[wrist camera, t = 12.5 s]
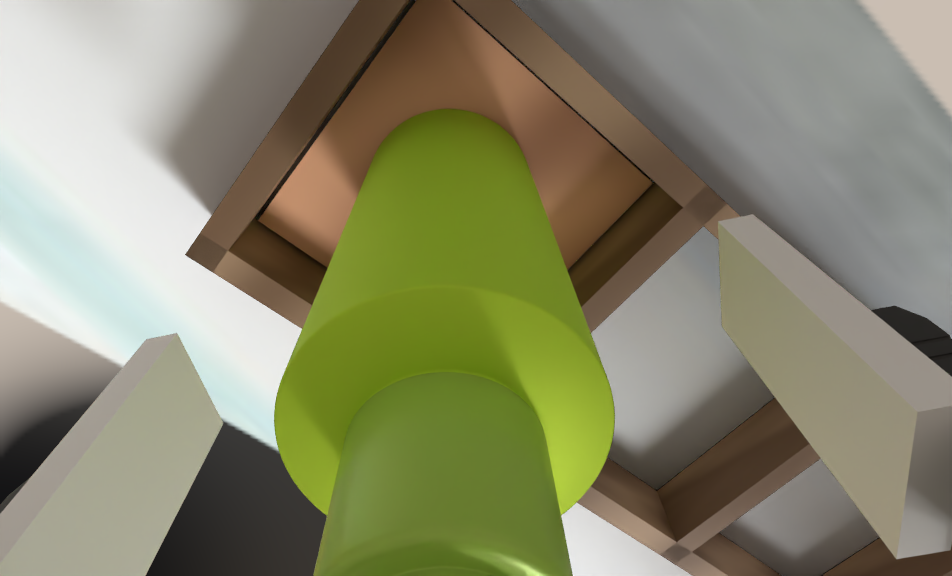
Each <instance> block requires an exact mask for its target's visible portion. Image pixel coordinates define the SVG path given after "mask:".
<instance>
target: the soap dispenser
mask: <svg viewBox="0 0 952 576" xmlns="http://www.w3.org/2000/svg"><path fill="white" fill-rule="evenodd" d="M614 424H615V411H614V402H613V396H612V392H611V388H610V384H609V381H608V379H607V376H606V373H605V370H604V368H603V365H602V362H601V360H600V357H599V354H598V352H597V349H596V346H595V344H594V341H593V338H592V335H591V333H590V330H589V327H588V325H587V322H586V319H585V317H584V314H583V311H582V309H581V306H580V303H579V301H578V298H577V295H576V292H575V290H574V287H573V284H572V282H571V279H570V276H569V274H568V271H567V268H566V266H565V263H564V260H563V257H562V255H561V252H560V249H559V247H558V244H557V241H556V239H555V236H554V233H553V231H552V228H551V225H550V223H549V220H548V217H547V214H546V212H545V209H544V206H543V204H542V201H541V198H540V196H539V193H538V190H537V188H536V185H535V182H534V179H533V177H532V174H531V171H530V169H529V166H528V163H527V161H526V158H525V156H524V154H523V152H522V150H521V149H520V147H519V145H518V144H517V143H516V141H515V140H514V139H513V138H512V136H511V135H510V134H509V133H508V132H507V131H506V130H505V129H503V128H502V127H501V126H500V125H498V124H497V123H495V122H494V121H492V120H490V119H489V118H486V117H484V116H482V115H480V114H477V113H474V112H470V111H466V110H460V109H438V110H432V111H427V112H424V113H421V114H418V115H416V116H414V117H411V118H409V119H408V120H406V121H404V122H403V123H401V124H400V125H399V126H397V127H396V128H395V129H394V130H393V131H391V132H390V133H389V135H388V136H387V137H386V138H385V139H384V140H383V142H382V143H381V145H380V146H379V148H378V149H377V151H376V153H375V155H374V157H373V160H372V162H371V165H370V167H369V169H368V172H367V174H366V177H365V179H364V182H363V184H362V186H361V189H360V191H359V194H358V196H357V198H356V201H355V203H354V206H353V208H352V210H351V213H350V215H349V218H348V220H347V223H346V225H345V227H344V230H343V232H342V235H341V237H340V239H339V242H338V244H337V247H336V249H335V252H334V254H333V256H332V259H331V261H330V264H329V266H328V268H327V271H326V273H325V276H324V278H323V280H322V283H321V285H320V288H319V290H318V293H317V295H316V297H315V300H314V302H313V305H312V307H311V309H310V312H309V314H308V317H307V319H306V322H305V324H304V326H303V329H302V331H301V334H300V336H299V338H298V341H297V343H296V346H295V348H294V350H293V353H292V355H291V358H290V360H289V363H288V365H287V367H286V370H285V372H284V375H283V377H282V380H281V383H280V385H279V389H278V393H277V397H276V403H275V412H274V426H275V435H276V441H277V445H278V449H279V452H280V455H281V457H282V460H283V462H284V465H285V467H286V469H287V471H288V472H289V474H290V476H291V478H292V479H293V481H294V482H295V484H296V485H297V486H298V488H299V489H300V490H301V491H302V493H303V494H304V495H305V496H306V497H307V498H308V499H309V500H310V501H311V502H312V503H313V504H314V505H315V506H316V507H317V508H318V509H319V510H321V511H322V512H323V513H324V514H326V515H327V519H326V523H325V527H324V532H323V536H322V541H321V545H320V550H319V554H318V558H317V562H316V567H315V571H314V575H313V576H573V574H572V569H571V564H570V559H569V554H568V549H567V544H566V539H565V533H564V528H563V523H562V518H561V515H562V514H564V513H565V512H566V511H567V510H569V509H570V508H571V507H572V506H573V505H574V504H575V503H576V502H577V501H578V500H579V499H580V498H581V497H582V496H583V495H584V494H585V493H586V492H587V490H588V489H589V488H590V487H591V485H592V484H593V482H594V481H595V480H596V478H597V476H598V475H599V473H600V471H601V469H602V468H603V465H604V463H605V461H606V459H607V456H608V454H609V451H610V447H611V444H612V439H613V433H614Z"/></svg>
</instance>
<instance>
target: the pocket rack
mask: <svg viewBox="0 0 952 576" xmlns="http://www.w3.org/2000/svg"><path fill="white" fill-rule="evenodd" d="M455 1H456V2H457V3H458V4H459V5H460V6H461V7H462V8H464V9H465V10H466V11H467V12H468V13H469V14H470V15H471V16H472V17H473V18H475V19H476V20H477V21H478V22H479V23H480V24H481V25H482V26H483V27H484V28H486V29H487V30H488V31H489V32H490V33H491V34H492V35H493V36H494V37H495V38H497V39H498V40H499V41H500V42H501V43H502V44H503V45H504V46H505V47H506V48H508V49H509V50H510V51H511V52H512V53H513V54H514V55H515V56H516V57H518V58H519V59H520V60H521V61H522V62H523V63H524V64H525V65H526V66H527V67H529V68H530V69H531V70H532V71H533V72H534V73H535V74H536V75H537V76H538V77H540V78H541V79H542V80H543V81H544V82H545V83H546V84H547V85H548V86H549V87H551V88H552V89H553V90H554V91H555V92H556V93H557V94H558V95H559V96H561V97H562V98H563V99H564V100H565V101H566V102H567V103H568V104H569V105H570V106H572V107H573V108H574V109H575V110H576V111H577V112H578V113H579V114H580V115H581V116H583V117H584V118H585V119H586V120H587V121H588V122H589V123H590V124H591V125H592V126H594V127H595V128H596V129H597V130H598V131H599V132H600V133H601V134H602V135H604V136H605V137H606V138H607V139H608V140H609V141H610V142H611V143H612V144H613V145H615V146H616V147H617V148H618V149H619V150H620V151H621V152H622V153H623V154H624V155H626V156H627V157H628V158H629V159H630V160H631V161H632V162H633V163H634V164H635V165H637V166H638V167H639V168H640V169H641V170H642V171H643V172H644V173H645V174H647V175H648V176H649V177H650V178H651V179H652V180H653V181H654V183H653V182H652V181H651V180H650V179H648V178H647V177H646V176H645V175H644V174H643V173H642V172H641V171H640V170H639V169H637V168H636V167H635V166H634V165H633V164H632V163H631V162H630V161H629V160H627V159H626V158H625V157H624V156H623V155H622V154H621V153H620V152H619V151H618V150H616V149H615V148H614V147H613V146H612V145H611V144H610V143H609V142H608V141H606V140H605V139H604V138H603V137H602V136H601V135H600V134H599V133H598V132H597V131H595V130H594V129H593V128H592V127H591V126H590V125H589V124H588V123H587V122H585V121H584V120H583V119H582V118H581V117H580V116H579V115H578V114H577V113H576V112H574V111H573V110H572V109H571V108H570V107H569V106H568V105H567V104H566V103H565V102H563V101H562V100H561V99H560V98H559V97H558V96H557V95H556V94H555V93H553V92H552V91H551V90H550V89H549V88H548V87H547V86H546V85H545V84H544V83H542V82H541V81H540V80H539V79H538V78H537V77H536V76H535V75H534V74H532V73H531V72H530V71H529V70H528V69H527V68H526V67H525V66H524V65H523V64H521V63H520V62H519V61H518V60H517V59H516V58H515V57H514V56H513V55H511V54H510V53H509V52H508V51H507V50H506V49H505V48H504V47H503V46H502V45H500V44H499V43H498V42H497V41H496V40H495V39H494V38H493V37H492V36H491V35H489V34H488V33H487V32H486V31H485V30H484V29H483V28H482V27H481V26H479V25H478V24H477V23H476V22H475V21H474V20H473V19H472V18H471V17H470V16H468V15H467V14H466V13H465V12H464V11H463V10H462V9H461V8H460V7H458V6H457V5H456V4H455V3H454V2H453V1H452V0H416V1H415V3H414V4H413V6H412V7H411V8H410V10H409V11H408V13H407V14H406V15H405V17H404V18H403V20H402V21H401V22H400V24H399V25H398V27H397V28H396V29H395V31H394V32H393V33H392V35H391V36H390V38H389V39H388V40H387V42H386V43H385V45H384V46H383V47H382V49H381V50H380V52H379V53H378V54H377V56H376V57H375V58H374V60H373V61H372V63H371V64H370V65H369V67H368V68H367V70H366V71H365V72H364V74H363V75H362V77H361V78H360V79H359V81H358V82H357V83H356V85H355V86H354V88H353V89H352V90H351V92H350V93H349V95H348V96H347V97H346V99H345V100H344V102H343V103H342V104H341V106H340V107H339V108H338V110H337V111H336V113H335V114H334V115H333V117H332V118H331V120H330V121H329V122H328V124H327V125H326V127H325V128H324V129H323V131H322V132H321V133H320V135H319V136H318V138H317V139H316V140H315V142H314V143H313V145H312V146H311V147H310V149H309V150H308V152H307V153H306V154H305V156H304V157H303V158H302V160H301V161H300V163H299V164H298V165H297V167H296V168H295V170H294V171H293V172H292V174H291V175H290V177H289V178H288V179H287V181H286V182H285V183H284V185H283V186H282V188H281V189H280V190H279V192H278V193H277V195H276V196H275V197H274V199H273V200H272V202H271V203H270V204H269V206H268V207H267V209H266V210H265V211H264V213H263V214H262V215H261V217H260V218H259V220H256V219H255V217H256V215H257V214H258V213H259V211H260V210H261V208H262V207H263V206H264V204H265V203H266V201H267V200H268V199H269V197H270V196H271V194H272V193H273V192H274V190H275V189H276V187H277V186H278V185H279V183H280V182H281V180H282V179H283V178H284V176H285V175H286V173H287V172H288V171H289V169H290V168H291V166H292V165H293V164H294V162H295V161H296V159H297V158H298V157H299V155H300V154H301V152H302V151H303V150H304V148H305V147H306V145H307V144H308V143H309V141H310V140H311V138H312V137H313V136H314V134H315V133H316V132H317V130H318V129H319V127H320V126H321V125H322V123H323V122H324V120H325V119H326V118H327V116H328V115H329V113H330V112H331V111H332V109H333V108H334V106H335V105H336V104H337V102H338V101H339V99H340V98H341V97H342V95H343V94H344V92H345V91H346V90H347V88H348V87H349V85H350V84H351V83H352V81H353V80H354V78H355V77H356V76H357V74H358V73H359V71H360V70H361V69H362V67H363V66H364V64H365V63H366V62H367V60H368V59H369V57H370V56H371V55H372V53H373V52H374V51H375V49H376V48H377V46H378V45H379V44H380V42H381V41H382V39H383V38H384V37H385V35H386V34H387V32H388V31H389V30H390V28H391V27H392V25H393V24H394V23H395V21H396V20H397V18H398V17H399V16H400V14H401V13H402V11H403V10H404V9H405V7H406V6H407V4H408V3H409V2H410V0H359V1H358V3H357V4H356V6H355V7H354V8H353V10H352V11H351V13H350V14H349V16H348V17H347V19H346V20H345V22H344V23H343V25H342V26H341V27H340V29H339V30H338V32H337V33H336V35H335V36H334V38H333V39H332V41H331V42H330V44H329V45H328V46H327V48H326V49H325V51H324V52H323V54H322V55H321V57H320V58H319V60H318V61H317V63H316V64H315V66H314V67H313V68H312V70H311V71H310V73H309V74H308V76H307V77H306V79H305V80H304V82H303V83H302V85H301V86H300V87H299V89H298V90H297V92H296V93H295V95H294V96H293V98H292V99H291V101H290V102H289V104H288V105H287V106H286V108H285V109H284V111H283V112H282V114H281V115H280V117H279V118H278V120H277V121H276V123H275V124H274V126H273V127H272V128H271V130H270V131H269V133H268V134H267V136H266V137H265V139H264V140H263V142H262V143H261V145H260V146H259V147H258V149H257V150H256V152H255V153H254V155H253V156H252V158H251V159H250V161H249V162H248V164H247V165H246V166H245V168H244V169H243V171H242V172H241V174H240V175H239V177H238V178H237V180H236V181H235V183H234V184H233V185H232V187H231V188H230V190H229V191H228V193H227V194H226V196H225V197H224V199H223V200H222V202H221V203H220V205H219V206H218V207H217V209H216V210H215V212H214V213H213V215H212V216H211V218H210V219H209V221H208V222H207V224H206V225H205V226H204V228H203V229H202V231H201V232H200V234H199V235H198V237H197V238H196V240H195V241H194V243H193V244H192V245H191V247H190V248H189V250H188V251H187V253H186V254H185V255H186V256H188V257H189V258H191V259H192V260H194V261H196V262H197V263H199V264H200V265H202V266H203V267H205V268H207V269H208V270H210V271H211V272H213V273H215V274H216V275H218V276H219V277H221V278H222V279H224V280H226V281H227V282H229V283H230V284H232V285H234V286H235V287H237V288H238V289H240V290H241V291H243V292H245V293H246V294H248V295H249V296H251V297H253V298H254V299H256V300H257V301H259V302H260V303H262V304H264V305H265V306H267V307H268V308H270V309H272V310H273V311H275V312H276V313H278V314H279V315H281V316H283V317H284V318H286V319H287V320H289V321H291V322H292V323H294V324H295V325H297V326H298V327H300V328H302V329H303V326H304V324H305V322H306V319H307V317H308V314H309V312H310V309H311V307H312V305H313V302H314V300H315V297H316V295H317V293H318V290H319V288H320V285H321V283H322V280H323V278H324V276H325V273H326V271H327V268H328V266H329V264H330V261H331V259H332V256H333V254H334V252H335V249H336V247H337V244H338V242H339V239H340V237H341V235H342V232H343V230H344V227H345V225H346V223H347V220H348V218H349V215H350V213H351V210H352V208H353V206H354V203H355V201H356V198H357V196H358V194H359V191H360V189H361V186H362V184H363V182H364V179H365V177H366V174H367V172H368V169H369V167H370V165H371V162H372V160H373V157H374V155H375V153H376V151H377V149H378V148H379V146H380V145H381V143H382V142H383V140H384V139H385V138H386V137H387V136H388V135H389V133H390V132H391V131H393V130H394V129H395V128H396V127H397V126H399V125H400V124H401V123H403V122H404V121H406V120H408V119H409V118H411V117H414V116H416V115H418V114H421V113H424V112H427V111H432V110H438V109H460V110H466V111H470V112H474V113H477V114H480V115H482V116H484V117H486V118H489V119H490V120H492V121H494V122H495V123H497V124H498V125H500V126H501V127H502V128H503V129H505V130H506V131H507V132H508V133H509V134H510V135H511V136H512V138H513V139H514V140H515V141H516V143H517V144H518V145H519V147H520V149H521V150H522V152H523V154H524V156H525V158H526V161H527V163H528V166H529V169H530V171H531V174H532V177H533V179H534V182H535V185H536V188H537V190H538V193H539V196H540V198H541V201H542V204H543V206H544V209H545V212H546V214H547V217H548V220H549V223H550V225H551V228H552V231H553V233H554V236H555V239H556V241H557V244H558V247H559V249H560V252H561V255H562V257H563V260H564V263H565V266H566V268H567V271H568V274H569V276H570V279H571V282H572V284H573V287H574V290H575V292H576V295H577V298H578V301H579V303H580V306H581V309H582V311H583V314H584V317H585V319H586V322H587V325H588V327H589V330H590V333H591V332H592V331H593V330H595V329H596V328H597V327H598V326H599V325H600V324H601V323H602V322H603V321H604V320H605V319H606V318H607V317H608V316H609V315H610V314H611V313H612V312H613V311H615V310H616V309H617V308H618V307H619V306H620V305H621V304H622V303H623V302H624V301H625V300H626V299H627V298H628V297H629V296H630V295H631V294H632V293H633V292H635V291H636V290H637V289H638V288H639V287H640V286H641V285H642V284H643V283H644V282H645V281H646V280H647V279H648V278H649V277H650V276H651V275H652V274H653V273H655V272H656V271H657V270H658V269H659V268H660V267H661V266H662V265H663V264H664V263H665V262H666V261H667V260H668V259H669V258H670V257H671V256H672V255H673V254H675V253H676V252H677V251H678V250H679V249H680V248H681V247H682V246H683V245H684V244H685V243H686V242H687V241H688V240H689V239H690V238H691V237H692V236H693V235H695V234H696V233H697V232H698V231H699V230H700V229H701V228H702V227H703V226H704V227H705V228H706V229H707V230H708V231H709V232H710V233H712V234H713V235H714V236H715V237H716V238H717V239H718V240H719V236H718V221H722V220H727V219H732V218H737V217H741V216H740V215H739V214H738V213H736V212H735V211H734V210H733V209H732V208H731V207H730V206H729V205H728V204H727V203H726V202H725V201H724V200H723V199H722V198H721V197H719V196H718V195H717V194H716V193H715V192H714V191H713V190H712V189H711V188H710V187H709V186H708V185H707V184H706V183H705V182H704V181H702V180H701V179H700V178H699V177H698V176H697V175H696V174H695V173H694V172H693V171H692V170H691V169H690V168H689V167H688V166H687V165H685V164H684V163H683V162H682V161H681V160H680V159H679V158H678V157H677V156H676V155H675V154H674V153H673V152H672V151H671V150H670V149H669V148H667V147H666V146H665V145H664V144H663V143H662V142H661V141H660V140H659V139H658V138H657V137H656V136H655V135H654V134H653V133H652V132H650V131H649V130H648V129H647V128H646V127H645V126H644V125H643V124H642V123H641V122H640V121H639V120H638V119H637V118H636V117H635V116H633V115H632V114H631V113H630V112H629V111H628V110H627V109H626V108H625V107H624V106H623V105H622V104H621V103H620V102H619V101H618V100H616V99H615V98H614V97H613V96H612V95H611V94H610V93H609V92H608V91H607V90H606V89H605V88H604V87H603V86H602V85H601V84H599V83H598V82H597V81H596V80H595V79H594V78H593V77H592V76H591V75H590V74H589V73H588V72H587V71H586V70H585V69H584V68H582V67H581V66H580V65H579V64H578V63H577V62H576V61H575V60H574V59H573V58H572V57H571V56H570V55H569V54H568V53H567V52H566V51H564V50H563V49H562V48H561V47H560V46H559V45H558V44H557V43H556V42H555V41H554V40H553V39H552V38H551V37H550V36H549V35H547V34H546V33H545V32H544V31H543V30H542V29H541V28H540V27H539V26H538V25H537V24H536V23H535V22H534V21H533V20H532V19H530V18H529V17H528V16H527V15H526V14H525V13H524V12H523V11H522V10H521V9H520V8H519V7H518V6H517V5H516V4H515V3H513V2H512V1H511V0H455ZM652 183H653V184H652ZM651 184H652V185H651ZM650 185H651V186H650ZM649 186H650V187H649ZM648 187H649V188H648ZM647 188H648V189H647ZM646 189H647V190H646ZM645 190H646V191H645ZM644 191H645V192H644ZM643 192H644V193H643ZM642 193H643V194H642ZM608 228H609V229H608ZM607 229H608V230H607ZM606 230H607V231H606ZM605 231H606V232H605ZM604 232H605V233H604ZM603 233H604V234H603ZM602 234H603V235H602ZM601 235H602V236H601ZM600 236H601V237H600ZM599 237H600V238H599ZM598 238H599V239H598ZM597 239H598V240H597ZM596 240H597V241H596ZM595 241H596V242H595ZM594 242H595V243H594ZM593 243H594V244H593ZM592 244H593V245H592ZM591 245H592V246H591ZM590 246H591V247H590ZM589 247H590V248H589ZM588 248H589V249H588ZM587 249H588V250H587ZM586 250H587V251H586ZM585 251H586V252H585ZM584 252H585V253H584ZM583 253H584V254H583ZM582 254H583V255H582ZM581 255H582V256H581ZM819 459H821V458H820V457H819V455H818V454H817V453H816V451H815V450H814V449H813V447H812V446H811V445H810V443H809V442H808V441H807V439H806V438H805V437H804V435H803V434H802V433H801V431H800V430H799V429H798V427H797V426H796V425H795V423H794V422H793V421H792V419H791V418H790V417H789V415H788V414H787V413H786V411H785V410H784V409H783V407H782V406H781V405H780V403H779V402H778V401H777V399H776V398H774V399H773V400H772V401H770V402H769V403H768V404H767V405H765V406H764V407H763V408H761V409H760V410H759V411H758V412H756V413H755V414H754V415H753V416H751V417H750V418H749V419H748V420H746V421H745V422H744V423H742V424H741V425H740V426H739V427H737V428H736V429H735V430H734V431H732V432H731V433H730V434H729V435H727V436H726V437H725V438H723V439H722V440H721V441H720V442H718V443H717V444H716V445H715V446H713V447H712V448H711V449H710V450H708V451H707V452H706V453H704V454H703V455H702V456H701V457H699V458H698V459H697V460H696V461H694V462H693V463H692V464H691V465H689V466H688V467H687V468H685V469H684V470H683V471H682V472H680V473H679V474H678V475H677V476H675V477H674V478H673V479H672V480H670V481H669V482H668V483H666V484H665V485H664V486H663V487H661V488H660V489H659V490H658V491H656V490H655V489H653V488H652V487H650V486H649V485H647V484H646V483H644V482H643V481H641V480H640V479H638V478H637V477H636V476H634V475H633V474H631V473H630V472H628V471H627V470H625V469H624V468H622V467H621V466H619V465H618V464H616V463H615V462H613V461H612V460H610V459H609V458H607V459H606V461H605V463H604V465H603V468H602V469H601V471H600V473H599V475H598V476H597V478H596V480H595V481H594V482H593V484H592V485H591V487H590V488H589V489H588V490H587V492H586V493H585V494H584V495H583V496H582V497H581V498H580V499H579V500H578V501H577V503H579V504H580V505H582V506H583V507H585V508H587V509H588V510H590V511H591V512H593V513H594V514H596V515H598V516H599V517H601V518H602V519H604V520H606V521H607V522H609V523H610V524H612V525H613V526H615V527H617V528H618V529H620V530H621V531H623V532H625V533H626V534H628V535H629V536H631V537H632V538H634V539H636V540H637V541H639V542H640V543H642V544H644V545H645V546H647V547H648V548H650V549H651V550H653V551H655V552H656V553H658V554H659V555H661V556H663V557H664V558H666V559H667V560H669V561H670V562H672V563H674V564H675V565H677V566H678V567H680V568H682V569H683V570H685V571H686V572H688V573H689V574H691V575H693V576H782V575H780V574H779V573H777V572H776V571H774V570H773V569H771V568H770V567H768V566H767V565H765V564H764V563H762V562H761V561H759V560H758V559H756V558H755V557H754V556H752V555H751V554H749V553H748V552H746V551H745V550H743V549H742V548H740V547H739V546H737V545H736V544H734V543H733V542H731V541H730V540H728V539H727V538H725V537H724V536H723V535H721V534H720V533H719V532H720V531H721V530H723V529H724V528H726V527H727V526H728V525H730V524H731V523H732V522H734V521H735V520H737V519H738V518H739V517H741V516H742V515H744V514H745V513H746V512H748V511H749V510H750V509H752V508H753V507H755V506H756V505H757V504H759V503H760V502H761V501H763V500H764V499H766V498H767V497H768V496H770V495H771V494H772V493H774V492H775V491H777V490H778V489H779V488H781V487H782V486H783V485H785V484H786V483H788V482H789V481H790V480H792V479H793V478H794V477H796V476H797V475H799V474H800V473H801V472H803V471H804V470H805V469H807V468H808V467H810V466H811V465H812V464H814V463H815V462H816V461H818V460H819ZM822 576H952V546H951V550H949V551H943V552H937V553H931V554H925V555H919V556H913V557H907V558H901V559H896V558H895V557H894V555H893V554H892V553H891V551H890V550H889V549H888V547H887V546H886V545H885V543H884V542H883V541H882V539H881V538H879V539H877V540H876V541H874V542H873V543H871V544H870V545H868V546H867V547H865V548H863V549H862V550H860V551H859V552H857V553H856V554H854V555H853V556H851V557H850V558H848V559H846V560H845V561H843V562H842V563H840V564H839V565H837V566H836V567H834V568H833V569H831V570H830V571H828V572H826V573H825V574H823V575H822Z"/></svg>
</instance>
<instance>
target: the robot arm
mask: <svg viewBox="0 0 952 576" xmlns="http://www.w3.org/2000/svg"><path fill="white" fill-rule="evenodd" d="M718 236H719V263H720V290H721V318H722V327H723V329H724V330H725V331H726V333H727V334H728V335H729V337H730V338H731V339H732V341H733V342H734V343H735V345H736V346H737V347H738V349H739V350H740V351H741V353H742V354H743V355H744V357H745V358H746V359H747V361H748V362H749V363H750V365H751V366H752V367H753V369H754V370H755V371H756V373H757V374H758V375H759V377H760V378H761V379H762V381H763V382H764V383H765V385H766V386H767V387H768V389H769V390H770V391H771V393H772V394H773V395H774V397H775V398H776V399H777V401H778V402H779V403H780V405H781V406H782V407H783V409H784V410H785V411H786V413H787V414H788V415H789V417H790V418H791V419H792V421H793V422H794V423H795V425H796V426H797V427H798V429H799V430H800V431H801V433H802V434H803V435H804V437H805V438H806V439H807V441H808V442H809V443H810V445H811V446H812V447H813V449H814V450H815V451H816V453H817V454H818V455H819V457H820V458H821V459H822V461H823V462H824V463H825V465H826V466H827V467H828V469H829V470H830V471H831V473H832V474H833V475H834V477H835V478H836V479H837V481H838V482H839V483H840V485H841V486H842V487H843V489H844V490H845V491H846V493H847V494H848V495H849V497H850V498H851V499H852V501H853V502H854V503H855V505H856V506H857V507H858V509H859V510H860V511H861V513H862V514H863V515H864V517H865V518H866V519H867V521H868V522H869V523H870V525H871V526H872V527H873V529H874V530H875V531H876V533H877V534H878V535H879V537H880V538H881V539H882V541H883V542H884V543H885V545H886V546H887V547H888V549H889V550H890V551H891V553H892V554H893V555H894V557H895V558H896V559H901V558H907V557H913V556H919V555H925V554H931V553H937V552H943V551H949V550H951V546H952V339H951V338H950V335H949V334H947V333H946V332H945V331H943V330H942V329H941V328H939V327H938V326H937V325H935V324H934V323H932V322H931V321H930V320H928V319H927V318H925V317H922V316H920V315H917V314H915V313H912V312H909V311H907V310H904V309H902V308H899V307H896V306H891V307H886V308H880V309H875V310H870V309H868V308H867V307H866V306H865V305H863V304H862V303H861V302H860V301H859V300H857V299H856V298H855V297H854V296H852V295H851V294H850V293H849V292H848V291H846V290H845V289H844V288H843V287H841V286H840V285H839V284H838V283H837V282H835V281H834V280H833V279H832V278H830V277H829V276H828V275H827V274H826V273H824V272H823V271H822V270H821V269H819V268H818V267H817V266H816V265H814V264H813V263H812V262H811V261H810V260H808V259H807V258H806V257H805V256H803V255H802V254H801V253H800V252H799V251H797V250H796V249H795V248H794V247H792V246H791V245H790V244H789V243H788V242H786V241H785V240H784V239H783V238H781V237H780V236H779V235H778V234H777V233H775V232H774V231H773V230H772V229H770V228H769V227H768V226H767V225H766V224H764V223H763V222H762V221H761V220H759V219H758V218H757V217H756V216H755V215H753V214H751V215H747V216H742V217H737V218H732V219H727V220H722V221H718ZM222 425H223V422H222V420H221V418H220V416H219V414H218V412H217V410H216V408H215V406H214V404H213V402H212V400H211V398H210V396H209V395H208V393H207V391H206V389H205V387H204V385H203V383H202V381H201V379H200V377H199V375H198V373H197V371H196V369H195V367H194V365H193V363H192V361H191V359H190V357H189V355H188V354H187V352H186V350H185V348H184V346H183V344H182V342H181V340H180V338H179V336H178V334H177V333H175V334H170V335H165V336H161V337H156V338H151V339H146V341H145V342H144V343H143V344H142V345H141V346H140V348H139V349H138V350H137V351H136V352H135V354H134V355H133V356H132V357H131V358H130V360H129V361H128V362H127V363H126V364H125V366H124V367H123V368H122V369H121V371H120V372H119V373H118V374H117V375H116V376H115V378H114V379H113V380H112V381H111V382H110V384H109V385H108V386H107V387H106V388H105V389H104V391H103V392H102V393H101V394H100V396H99V397H98V398H97V399H96V400H95V401H94V403H93V404H92V405H91V406H90V407H89V409H88V410H87V411H86V412H85V413H84V415H83V416H82V417H81V418H80V419H79V421H78V422H77V423H76V424H75V425H74V426H73V428H72V429H71V430H70V431H69V432H68V434H67V435H66V436H65V437H64V438H63V440H62V441H61V442H60V443H59V444H58V446H57V447H56V448H55V449H54V450H53V452H52V453H51V454H50V455H49V456H48V457H47V459H46V460H45V461H44V462H43V463H42V465H41V466H40V467H39V468H38V470H37V471H36V472H35V473H34V474H33V475H32V477H30V478H29V479H28V480H27V481H26V482H24V483H23V484H22V485H21V486H19V487H18V488H17V489H16V490H15V491H14V492H12V493H11V494H10V495H8V497H7V498H6V499H5V500H4V501H3V502H2V504H1V505H0V576H145V575H146V573H147V571H148V569H149V567H150V565H151V563H152V561H153V559H154V557H155V555H156V554H157V552H158V550H159V548H160V546H161V544H162V542H163V540H164V538H165V536H166V534H167V532H168V530H169V528H170V526H171V524H172V522H173V520H174V518H175V517H176V515H177V513H178V511H179V509H180V507H181V505H182V503H183V501H184V499H185V497H186V495H187V493H188V491H189V489H190V487H191V485H192V483H193V481H194V479H195V477H196V476H197V474H198V472H199V470H200V468H201V466H202V464H203V462H204V460H205V458H206V456H207V454H208V452H209V450H210V448H211V446H212V444H213V442H214V440H215V438H216V436H217V435H218V433H219V431H220V429H221V427H222Z"/></svg>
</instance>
